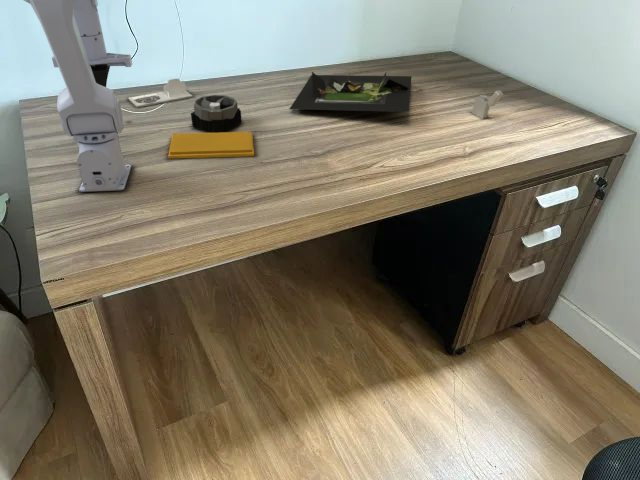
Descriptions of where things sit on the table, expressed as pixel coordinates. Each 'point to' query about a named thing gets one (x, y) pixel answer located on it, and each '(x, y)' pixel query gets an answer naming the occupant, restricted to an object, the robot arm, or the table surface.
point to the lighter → (485, 104)
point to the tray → (211, 145)
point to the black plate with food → (355, 93)
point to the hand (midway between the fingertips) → (102, 100)
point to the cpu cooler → (216, 113)
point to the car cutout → (163, 94)
